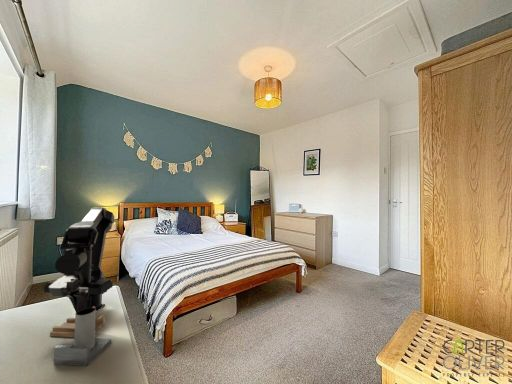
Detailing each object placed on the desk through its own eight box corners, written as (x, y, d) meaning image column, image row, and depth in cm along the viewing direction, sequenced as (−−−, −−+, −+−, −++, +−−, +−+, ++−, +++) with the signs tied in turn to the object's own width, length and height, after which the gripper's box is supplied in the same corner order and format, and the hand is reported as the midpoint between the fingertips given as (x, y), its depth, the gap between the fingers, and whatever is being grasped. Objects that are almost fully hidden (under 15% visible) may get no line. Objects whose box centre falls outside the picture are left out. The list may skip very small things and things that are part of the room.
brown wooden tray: (70, 323, 75) (70, 313, 75) (103, 324, 74) (104, 315, 74) (50, 336, 68) (50, 325, 68) (86, 337, 67) (87, 327, 67)
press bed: (82, 341, 66) (83, 327, 66) (111, 342, 65) (112, 328, 65) (53, 363, 57) (54, 347, 57) (86, 365, 56) (87, 349, 56)
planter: (87, 353, 59) (89, 314, 59) (69, 354, 58) (71, 315, 59) (98, 342, 63) (99, 306, 64) (81, 342, 63) (82, 307, 63)
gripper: (26, 271, 64) (23, 325, 63) (87, 273, 63) (85, 328, 62) (61, 260, 75) (59, 306, 74) (114, 261, 74) (112, 308, 74)
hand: (78, 312), depth 71 cm, fingers closed
